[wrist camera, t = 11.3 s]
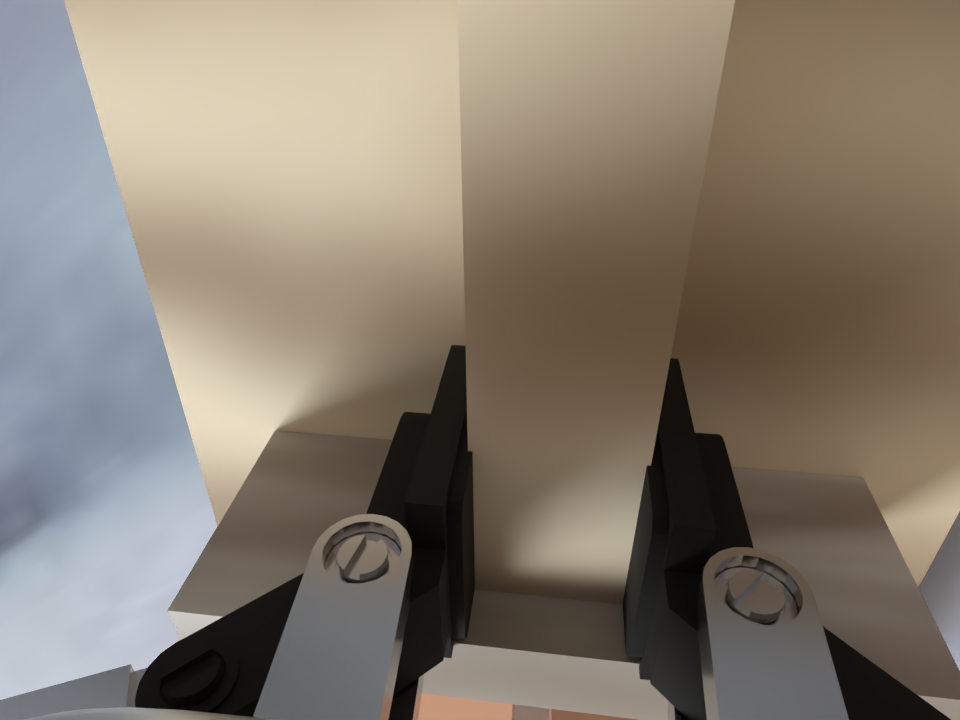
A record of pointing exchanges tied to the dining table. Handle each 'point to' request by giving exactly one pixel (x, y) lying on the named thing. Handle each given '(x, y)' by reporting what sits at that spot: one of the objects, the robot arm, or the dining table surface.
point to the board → (439, 229)
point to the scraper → (576, 377)
